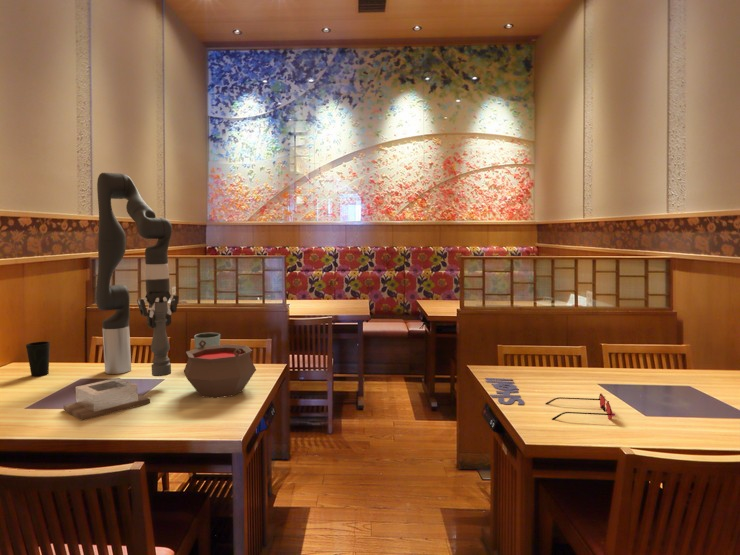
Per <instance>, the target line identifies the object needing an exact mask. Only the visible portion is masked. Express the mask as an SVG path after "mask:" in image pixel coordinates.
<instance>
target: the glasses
mask: <svg viewBox="0 0 740 555" xmlns="http://www.w3.org/2000/svg"><path fill="white" fill-rule="evenodd" d="M560 399H561V400H564V399H565V400H583V401H584V400H585V401H586V400H587V401H599V408H600V409H602V411H603V412H607V413H600V412H599V413H598V412H580V411H579V412H578V411H576V412H575V411H564V412H560V413H559V414H557V415H556V416H554V417H552V418H551V420H552V421H555V420H556V419H557V418H559V417H561V416H563V415H565V414H576V415H577V414H578V415H598V416H601V415H602V416H607V418H608V420H609V421H610V420H612V418H613V417H615V416H616V413H613V410H612V406H611V404H610V401H608V400H607V399H606V396H605V395H603V393H602V392H601V393H600V394H599V396H598V398H589V397H588V398H587V397H585V398H584V397H554V398H553V399H550V400H549V401H547V402H545V403H544V404H545V405H549V404H550V403H552V402H554V401H556V400H560Z"/></svg>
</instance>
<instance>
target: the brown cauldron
mask: <svg viewBox="0 0 740 555" xmlns="http://www.w3.org/2000/svg"><path fill="white" fill-rule="evenodd" d="M202 342H203V343H204V344H203V345H202V344H201V343H202ZM205 344H206V342H205V341H204V340H203V339H202V340H201V342H200V343H199V345H200V346H201V347H200V348H197V349H196V348H194V349H191V350H187V351H185V353H186V355H187V356H188V359H187V361H186V364H185V366H184V369H183V373H184V376H185V378H186V380H187V381H188V382H189V384H191V386H192V387H193V388H194V389H195V391H196V392H197V394H199V396H200V397H202V396H204V398H211V397H213V399H218V398H217V397H219V398H225V397H224V396H227V397H232V396H231V395H233V396H235V395H237V394H239V393H241V392H243V391H244V389H245V387H246V386H247V384H248V383H249V381H250V380H251V379H252V377H253V375H254V374H255V372H256V371H257V369H256V366H255V364H254V362H253V359H251V356H250V355H251V353H252V352H253V349H252V348H250V347H249V346H248V345H243V344H242V345H240V344H229V343H228V344H227V343H225V344H220V345H214V346H205ZM242 390H243V391H242ZM240 391H241V392H240Z"/></svg>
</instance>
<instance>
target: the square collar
mask: <svg viewBox="0 0 740 555" xmlns="http://www.w3.org/2000/svg"><path fill="white" fill-rule="evenodd" d="M74 387H75V401H76V402H75V403H78V404H80V405H82V406H84V407H86V408H88V409H90V410H91V411H93V412H96V411H100V410H104V409H108V408H111V407H115V406H119V405H123V404H127V403H131V402H135V401H138V394H139V393H138V384H136V383H133V382H131V381H128V380H126V379H122V378H120V377H116V378H110V379H106V380H102V381H101V380H100V381H96V382H92V383H87V384H83V385H82V384H81V385H78V386H74Z"/></svg>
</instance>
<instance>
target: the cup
mask: <svg viewBox="0 0 740 555" xmlns="http://www.w3.org/2000/svg"><path fill="white" fill-rule="evenodd" d="M25 348H26V352H27V358H28V364H29V369H30V374H31V377H33V378H37V377H44V376H45V377H46V376H48V375H49V374H50V373H49V372H50V371H49V370H50V348H51V347H50V341H34V342H29V343H26V344H25ZM47 374H48V375H47Z"/></svg>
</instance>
